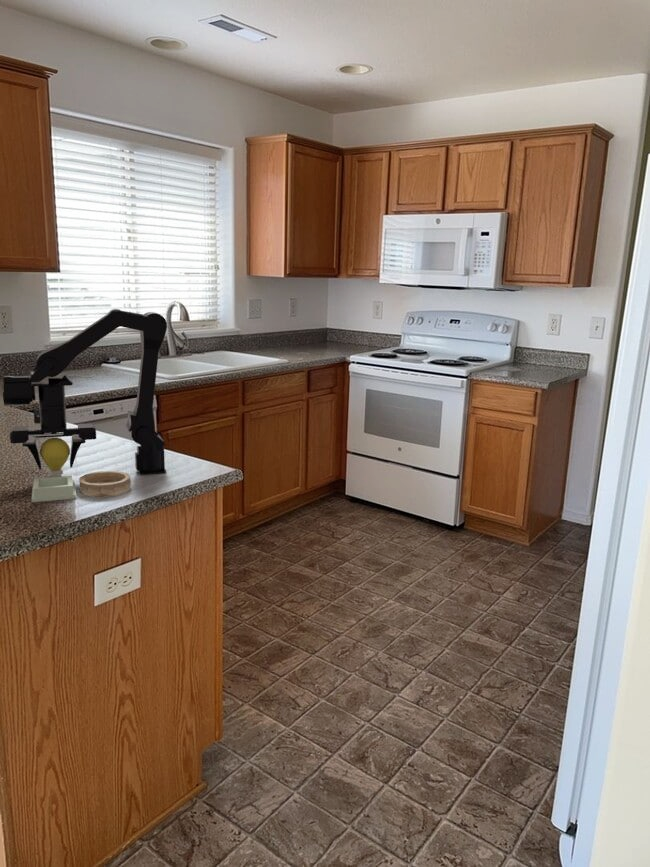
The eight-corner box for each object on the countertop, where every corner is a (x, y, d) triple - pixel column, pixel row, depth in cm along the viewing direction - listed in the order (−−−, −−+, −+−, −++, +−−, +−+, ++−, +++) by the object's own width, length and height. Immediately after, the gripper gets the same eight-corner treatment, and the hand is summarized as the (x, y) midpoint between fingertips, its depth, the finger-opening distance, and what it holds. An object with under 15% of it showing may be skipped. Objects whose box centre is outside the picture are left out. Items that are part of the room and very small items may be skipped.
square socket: (74, 486, 156) (73, 474, 155) (76, 498, 148) (75, 486, 147) (32, 489, 153) (31, 478, 152) (31, 502, 145) (30, 490, 144)
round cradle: (127, 480, 161) (127, 469, 161) (132, 494, 151) (132, 482, 151) (79, 484, 157) (78, 473, 157) (81, 499, 147) (80, 487, 147)
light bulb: (76, 479, 162) (75, 439, 159) (49, 484, 157) (47, 442, 154) (62, 473, 166) (61, 433, 164) (35, 477, 161) (34, 437, 159)
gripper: (92, 397, 168) (94, 457, 171) (10, 399, 161) (14, 462, 165) (95, 405, 158) (97, 468, 161) (7, 408, 151) (12, 474, 154)
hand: (55, 468), depth 161 cm, fingers closed on light bulb, 6 cm apart
